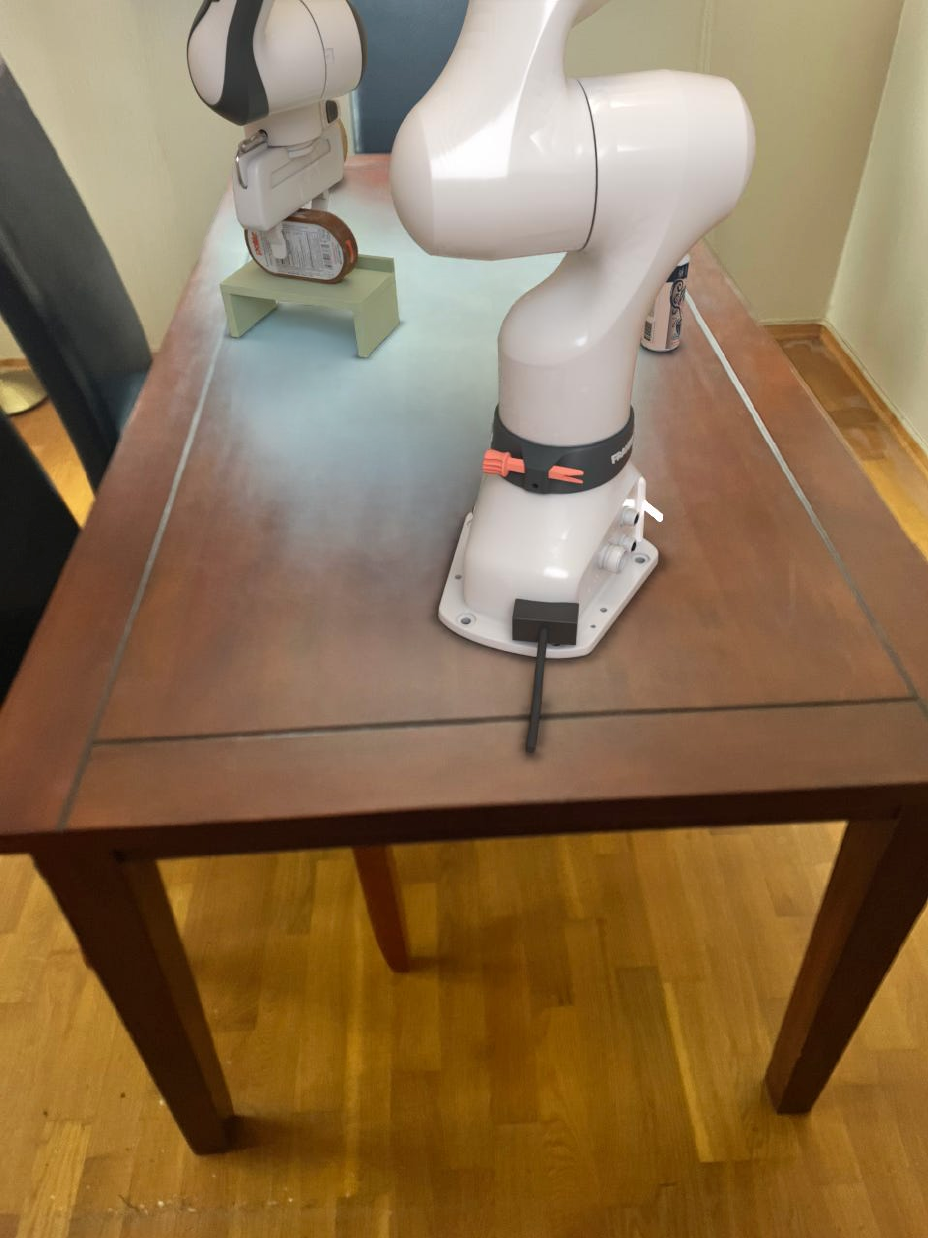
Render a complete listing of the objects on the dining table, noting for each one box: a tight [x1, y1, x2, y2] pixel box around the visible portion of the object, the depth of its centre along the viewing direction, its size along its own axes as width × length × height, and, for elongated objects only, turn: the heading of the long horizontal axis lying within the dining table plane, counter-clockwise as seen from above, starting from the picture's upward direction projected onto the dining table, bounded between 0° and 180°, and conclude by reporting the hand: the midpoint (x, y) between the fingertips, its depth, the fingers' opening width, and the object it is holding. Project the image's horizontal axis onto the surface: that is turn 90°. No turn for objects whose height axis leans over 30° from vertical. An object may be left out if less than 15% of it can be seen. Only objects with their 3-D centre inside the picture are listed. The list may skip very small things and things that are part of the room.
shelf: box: [219, 253, 400, 359], centre depth 120 cm, size 10×20×9 cm, turn 68°
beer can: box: [640, 252, 691, 353], centre depth 112 cm, size 5×5×12 cm
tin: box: [243, 207, 359, 284], centre depth 115 cm, size 15×3×8 cm, turn 67°
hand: (301, 242), depth 115 cm, fingers open, 8 cm apart
